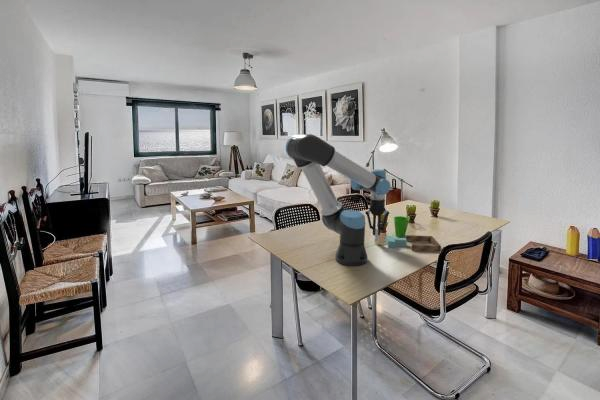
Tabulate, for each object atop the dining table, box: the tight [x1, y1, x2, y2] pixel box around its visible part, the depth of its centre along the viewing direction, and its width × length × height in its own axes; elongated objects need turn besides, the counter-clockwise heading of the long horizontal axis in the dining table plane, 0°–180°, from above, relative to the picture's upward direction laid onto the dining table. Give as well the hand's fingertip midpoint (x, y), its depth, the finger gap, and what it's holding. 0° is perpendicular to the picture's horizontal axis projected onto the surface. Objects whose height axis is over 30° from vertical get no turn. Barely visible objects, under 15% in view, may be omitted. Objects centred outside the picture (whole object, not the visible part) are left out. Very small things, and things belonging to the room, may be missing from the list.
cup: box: [393, 215, 410, 238], centre depth 191 cm, size 9×9×11 cm
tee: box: [385, 235, 408, 249], centre depth 177 cm, size 10×10×4 cm
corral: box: [405, 234, 442, 253], centre depth 176 cm, size 14×16×3 cm
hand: (376, 240), depth 178 cm, fingers closed
